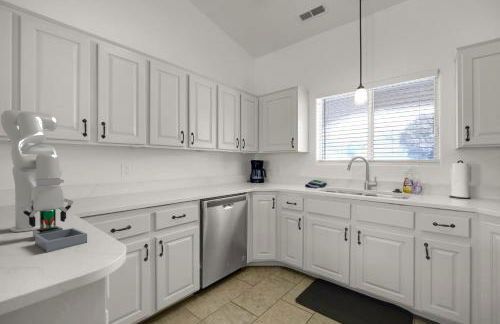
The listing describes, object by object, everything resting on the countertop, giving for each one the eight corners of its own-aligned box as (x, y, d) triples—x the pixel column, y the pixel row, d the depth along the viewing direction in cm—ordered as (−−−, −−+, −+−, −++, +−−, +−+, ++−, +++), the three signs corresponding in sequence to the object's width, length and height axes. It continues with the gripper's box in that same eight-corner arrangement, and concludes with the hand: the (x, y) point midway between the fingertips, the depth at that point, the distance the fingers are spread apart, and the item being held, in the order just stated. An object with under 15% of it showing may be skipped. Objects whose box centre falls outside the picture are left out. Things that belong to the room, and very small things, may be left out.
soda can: (54, 233, 100) (54, 206, 100) (57, 235, 97) (57, 207, 97) (38, 236, 96) (38, 208, 97) (41, 239, 93) (41, 209, 93)
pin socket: (32, 237, 96) (32, 229, 96) (56, 232, 102) (56, 225, 102) (38, 240, 91) (38, 233, 91) (62, 235, 98) (62, 228, 98)
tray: (35, 244, 87) (35, 235, 87) (73, 236, 97) (73, 227, 97) (47, 252, 79) (47, 242, 79) (87, 242, 89) (87, 233, 89)
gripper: (69, 181, 106) (70, 218, 106) (17, 184, 92) (17, 227, 91) (75, 181, 102) (76, 220, 101) (22, 184, 88) (22, 229, 87)
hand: (48, 223), depth 96 cm, fingers open, 9 cm apart
